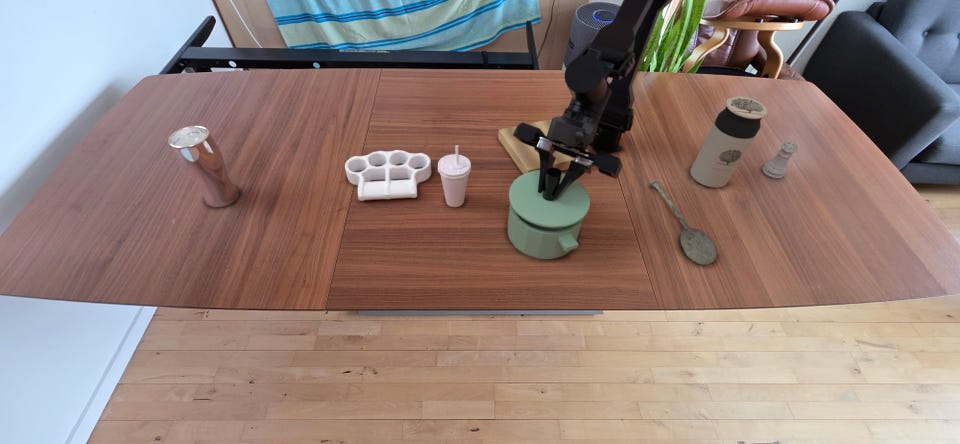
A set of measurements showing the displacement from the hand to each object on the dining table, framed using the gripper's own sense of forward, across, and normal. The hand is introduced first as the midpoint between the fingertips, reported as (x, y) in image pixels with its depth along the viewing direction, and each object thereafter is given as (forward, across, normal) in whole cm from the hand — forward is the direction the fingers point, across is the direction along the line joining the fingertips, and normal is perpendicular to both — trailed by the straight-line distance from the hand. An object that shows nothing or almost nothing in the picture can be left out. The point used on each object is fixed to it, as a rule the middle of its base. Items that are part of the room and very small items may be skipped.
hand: (546, 196), depth 75 cm
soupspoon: (-6, +22, +21) cm, 31 cm away
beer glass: (+26, -59, -11) cm, 65 cm away
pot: (+7, 0, +8) cm, 11 cm away
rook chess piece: (-25, +36, +41) cm, 60 cm away
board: (-10, -11, +25) cm, 29 cm away
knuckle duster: (+10, -34, +6) cm, 36 cm away
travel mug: (-18, +24, +34) cm, 46 cm away
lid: (0, 0, +2) cm, 2 cm away
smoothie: (+8, -19, +7) cm, 22 cm away
